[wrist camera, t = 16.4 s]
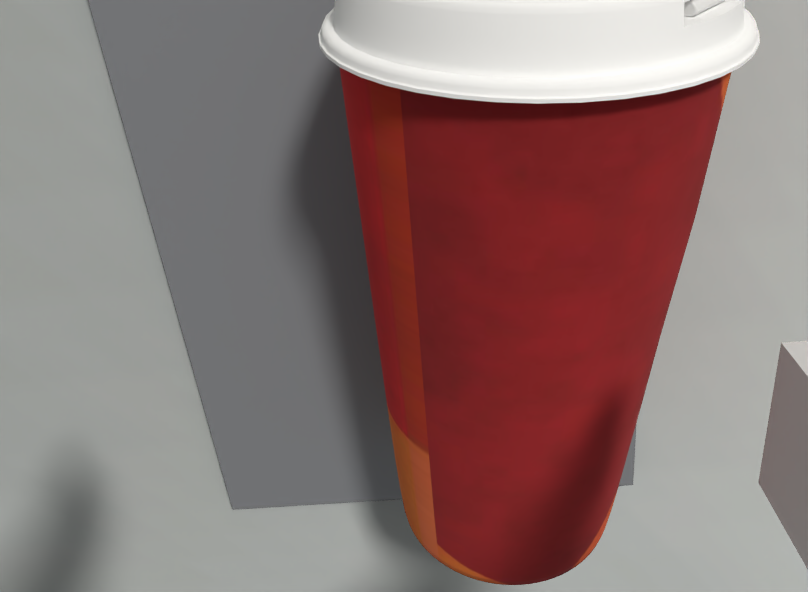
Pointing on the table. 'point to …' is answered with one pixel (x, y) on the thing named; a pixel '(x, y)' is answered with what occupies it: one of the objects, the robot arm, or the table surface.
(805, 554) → the robot arm
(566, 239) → the coffee cup
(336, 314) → the mat
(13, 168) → the table surface
